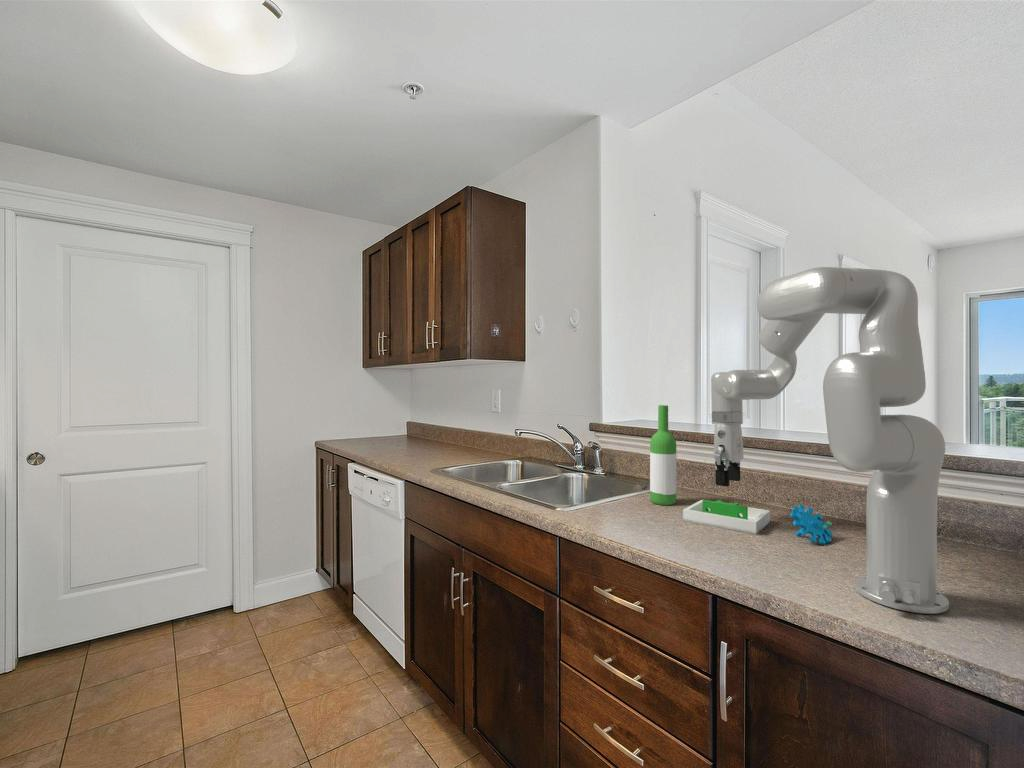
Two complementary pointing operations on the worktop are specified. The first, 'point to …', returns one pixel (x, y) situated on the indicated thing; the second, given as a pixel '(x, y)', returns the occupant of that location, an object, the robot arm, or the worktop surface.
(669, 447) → the wine bottle
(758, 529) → the tray
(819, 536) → the blue lumpy piece
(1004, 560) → the worktop surface
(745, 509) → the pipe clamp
